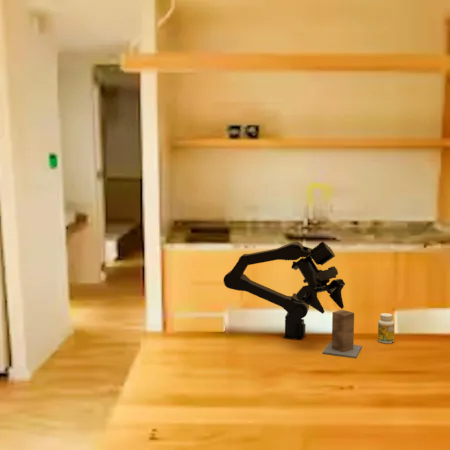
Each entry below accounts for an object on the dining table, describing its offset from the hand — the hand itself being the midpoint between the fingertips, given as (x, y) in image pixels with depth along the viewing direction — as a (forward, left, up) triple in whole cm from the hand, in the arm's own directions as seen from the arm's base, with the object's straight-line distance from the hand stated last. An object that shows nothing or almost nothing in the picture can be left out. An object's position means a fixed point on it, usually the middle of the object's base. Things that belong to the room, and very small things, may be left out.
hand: (333, 310), depth 198 cm
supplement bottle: (+16, +13, -13) cm, 24 cm away
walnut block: (+4, -2, -12) cm, 13 cm away
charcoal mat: (+4, -2, -13) cm, 14 cm away
